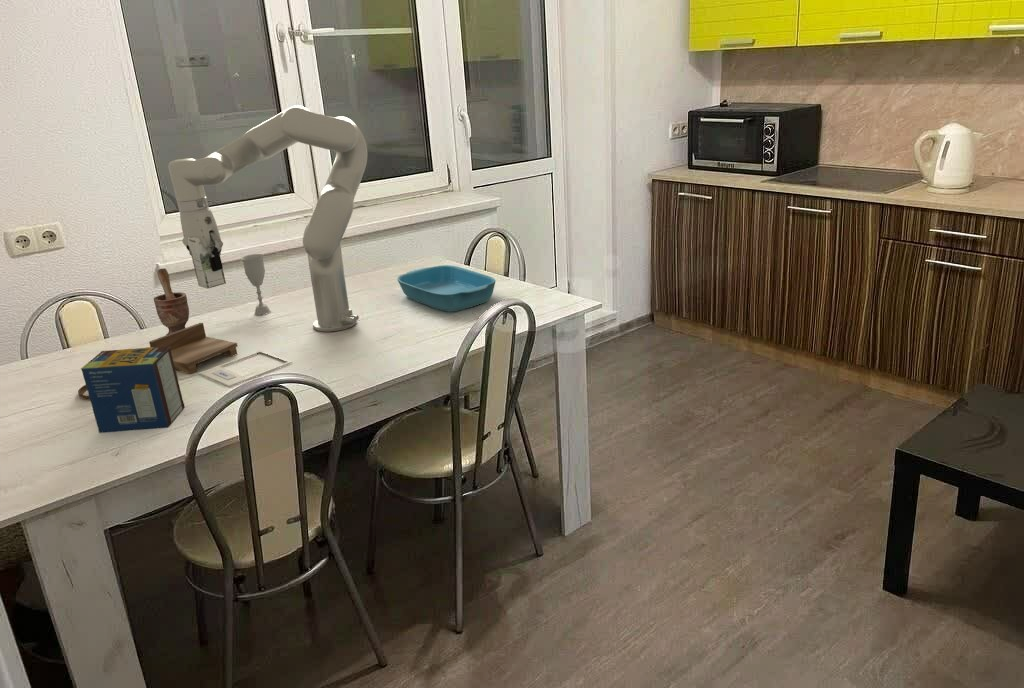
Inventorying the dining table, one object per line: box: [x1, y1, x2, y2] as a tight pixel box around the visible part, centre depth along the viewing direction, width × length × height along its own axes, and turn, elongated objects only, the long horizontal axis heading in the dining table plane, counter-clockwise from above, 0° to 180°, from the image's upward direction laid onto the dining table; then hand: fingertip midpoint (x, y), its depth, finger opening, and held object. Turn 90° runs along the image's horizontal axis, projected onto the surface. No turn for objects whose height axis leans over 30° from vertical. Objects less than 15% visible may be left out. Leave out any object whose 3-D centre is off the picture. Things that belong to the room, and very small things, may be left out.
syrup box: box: [188, 237, 227, 289], centre depth 212 cm, size 6×6×14 cm
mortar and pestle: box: [153, 268, 190, 336], centre depth 219 cm, size 12×9×20 cm
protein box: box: [80, 346, 185, 434], centre depth 169 cm, size 10×15×16 cm
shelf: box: [148, 322, 238, 375], centre depth 204 cm, size 14×16×7 cm
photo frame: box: [198, 350, 293, 388], centre depth 197 cm, size 15×1×18 cm
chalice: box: [240, 253, 271, 316], centre depth 238 cm, size 7×7×18 cm
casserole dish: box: [397, 264, 497, 313], centre depth 243 cm, size 37×22×7 cm, turn 38°
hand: (208, 268), depth 213 cm, fingers closed on syrup box, 6 cm apart
